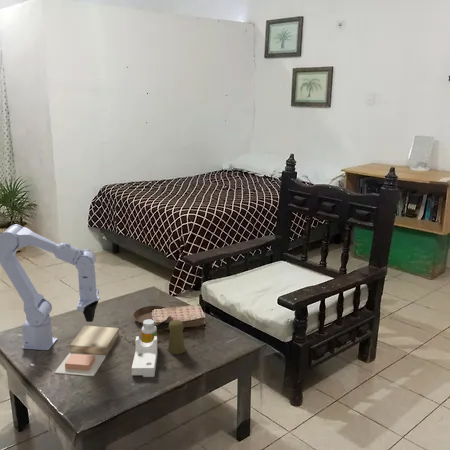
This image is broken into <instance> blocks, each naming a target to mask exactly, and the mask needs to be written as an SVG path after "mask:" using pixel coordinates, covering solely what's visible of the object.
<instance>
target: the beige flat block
mask: <svg viewBox="0 0 450 450" xmlns="http://www.w3.org/2000/svg"><path fill="white" fill-rule="evenodd" d="M119 337H120V328H119V327H108V326H95V325H84V326H83V327H82V329H81V330H80V332H79V333H77V334H76V336H75V338H74V339H73V340H72V341H71V343H70V344H69V353H80V354H93V355H106V356H108V354H109V353H110V351H111V350H112V347H113V346H114V345H115V343H116V341H117V340H118V338H119Z"/></svg>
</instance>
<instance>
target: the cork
mask: <svg viewBox="0 0 450 450" xmlns="http://www.w3.org/2000/svg"><path fill="white" fill-rule="evenodd" d="M184 325H185V324H184V323H183V321H182V320H180V319H173V320H171V321H170V322H169V324H168V329H169V331H170V332H169V339H168V347H167V353H170V354H171V355H180V354H183V353H184V352H185V350H186V347H185V340H184V332H183V330H184V327H185V326H184Z"/></svg>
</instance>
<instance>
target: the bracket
mask: <svg viewBox="0 0 450 450" xmlns="http://www.w3.org/2000/svg"><path fill="white" fill-rule="evenodd" d="M134 345H135V352H134V356H133V361H132V365H131V376H142V377H143V378H154V377H155V373H156V367H157V363H158V362H157V360H158V354H159V353H158V335H157V336H154V340H153V341H152V342H150V343H144V342H142V339H141V338H140V336H138V335H137V336H135V344H134Z"/></svg>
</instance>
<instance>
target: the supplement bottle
mask: <svg viewBox="0 0 450 450" xmlns="http://www.w3.org/2000/svg"><path fill="white" fill-rule="evenodd" d="M154 325H155V323H154V320H152V319H147V320H144V321H143V325H142V327H141V329H140V330H141V332H140V333H141V341H142V342H144V343H150V342H152V341H153V340H154V336H157V337H158V335H157V334H158V333H157V332H158V331H157V330H158V329H157V328H158V327H157V326H154Z"/></svg>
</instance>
